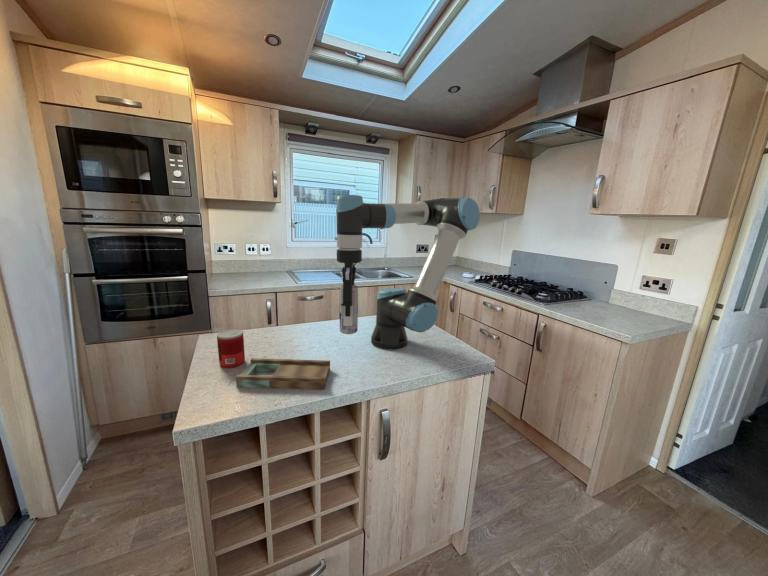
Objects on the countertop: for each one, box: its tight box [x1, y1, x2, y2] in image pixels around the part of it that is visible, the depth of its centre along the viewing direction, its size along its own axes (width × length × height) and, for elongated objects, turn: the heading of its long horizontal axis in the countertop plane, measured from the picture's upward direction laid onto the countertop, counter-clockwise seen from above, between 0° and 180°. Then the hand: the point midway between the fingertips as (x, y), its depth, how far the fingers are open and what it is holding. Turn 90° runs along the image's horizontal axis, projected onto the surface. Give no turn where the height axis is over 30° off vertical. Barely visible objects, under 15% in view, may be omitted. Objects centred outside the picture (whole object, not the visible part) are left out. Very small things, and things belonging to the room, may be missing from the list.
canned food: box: [216, 328, 246, 369], centre depth 105 cm, size 8×8×11 cm
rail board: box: [235, 357, 331, 391], centre depth 98 cm, size 26×12×4 cm, turn 91°
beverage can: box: [339, 284, 359, 335], centre depth 97 cm, size 6×6×15 cm
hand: (348, 321), depth 98 cm, fingers closed on beverage can, 5 cm apart
